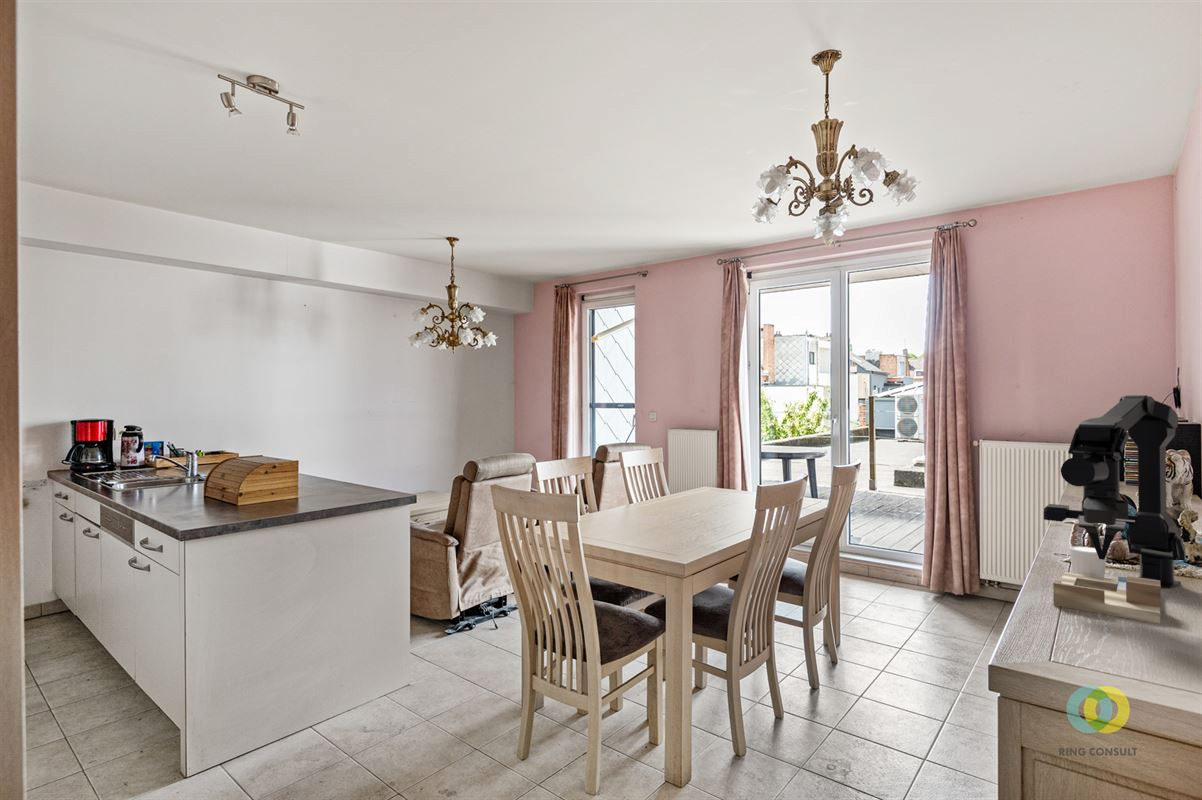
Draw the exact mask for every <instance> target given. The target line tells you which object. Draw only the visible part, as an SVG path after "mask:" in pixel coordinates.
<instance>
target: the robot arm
mask: <svg viewBox="0 0 1202 800" xmlns="http://www.w3.org/2000/svg"><path fill="white" fill-rule="evenodd" d="M1178 425H1179V416H1178V413H1177V412H1176V411H1175V410H1174V409H1173V408H1172V406H1170V405H1168V404H1166V403H1163V402H1160V401H1157V400H1155V399H1154V397H1152V396H1149V395H1145V394H1143V395H1142V394H1139V395H1138V394H1136V395H1133V394H1130V395H1124V396H1121V397H1120V398H1119V401H1118V403H1116V404H1115V405H1114V406H1113V407H1111V408H1110V409H1109V410H1108V411H1107V412H1105V413H1104V415H1102V416H1099V417H1094V418H1093V417H1091V418H1088V419H1085V420H1083V421H1081V422H1080V423H1079V424H1078V426H1077V427H1076V428H1075V431H1074V434H1073V437H1072V440H1071V443H1070V445H1069V448H1068V451H1067V453H1068V454H1069V455H1071V456H1072V457H1070V458H1068V459H1066V460H1065V461H1064V462H1063V464H1062V465H1061V467H1060V474H1061V477H1062V478H1063V480H1064V481H1065V482H1066V483H1067V484H1069V485H1071V486H1075V487H1083V488H1082V489H1083V490H1082V491H1083V497H1082V498H1083V499H1082V501H1081V509H1080V510H1079V509H1070V506H1069V504H1068V505H1067V504H1055V503H1049V504H1047V505H1046V506H1045V507H1044V508H1043V520H1044V521H1052V522H1061V523H1062V522H1063V521H1066V519H1074V520H1077V521H1078V525H1077V526H1078V528H1082V529H1084V530H1085V531H1086V533H1087V535H1088V536H1089V537H1090V539H1091V541H1092V544H1093V548H1095V549H1096V552H1097V554H1098V557H1099V559H1102V560H1104V559H1105V557H1106V554H1107V555H1108V552H1109V549H1110V548H1111V547H1110V546H1111V544H1112V541H1113V540H1114V539H1115V537H1116V536H1117V534H1118V533H1123V532H1126V534H1125V535H1126V541H1127V546H1128V551H1129V552H1128V553H1129V554H1136V555H1139V576H1138V577H1139V578H1146V579H1153V580H1160V584H1161V588H1166V589H1171V588H1174V587H1177V586H1179V585H1182V581H1179V580H1175V562H1178V561H1186V559H1187V557H1186V555H1187V549H1186V546H1185V544H1184V542H1183V540H1182V538H1181V536H1180V534H1179V533H1178V527H1177V523H1176V522H1175V521H1174V520H1173V517H1171V516H1170V514H1169V513H1168V512H1167V472H1166V471H1167V467H1166V464H1167V463H1166V461H1167V460H1166V453H1167V452H1166V448H1167V446H1168V445H1169V443H1170V442H1171V441H1172V440H1173V439H1174V437H1175V436H1176V429H1177V428H1178ZM1129 438H1130V439H1131V440H1132V441H1133V443H1134V444H1135V445H1136V447H1137V482H1138V483H1137V484H1138V485H1137V486H1138V488H1137V490H1138V491H1137V492H1138V493H1137V496H1138V510H1137V512H1136V513H1135V514H1134V515H1133V514H1129V500H1123V499H1122V500H1121V499H1120V498H1121V496H1120V494H1121V493H1120V491H1121V490H1120V489H1121V487H1120V461H1121V460H1122V456H1121V455H1120V454H1122V453H1123V451H1124V449H1125V447H1126V444H1127V442H1128V440H1129ZM1099 524H1102V525H1103V524H1104V525H1106V526H1105V529H1104V530H1105V531H1104V536H1103V543H1102V542H1101V541H1102V540H1101V536H1100V535H1101V534H1100V528H1099ZM1127 525H1128V528H1127V529H1126V527H1127ZM1106 558H1107V557H1106Z"/></svg>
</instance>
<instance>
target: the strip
mask: <svg viewBox="0 0 1202 800" xmlns="http://www.w3.org/2000/svg"><path fill="white" fill-rule="evenodd" d="M1126 578H1127V576H1124V575H1118V578H1117V580H1118V587H1117V588H1122V589H1126Z"/></svg>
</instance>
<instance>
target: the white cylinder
mask: <svg viewBox="0 0 1202 800" xmlns="http://www.w3.org/2000/svg"><path fill="white" fill-rule="evenodd" d="M1069 556H1070V564H1071V573H1074V574H1081V575H1088V576H1095V577H1102V578H1105V575H1106V565H1107V556H1108V553H1107V554H1106V557H1105V559H1104V560H1102V559H1099V557H1098V554H1097V552H1096V549H1095V547H1094V546H1093V547H1092V546H1084V545H1083V546H1081V545H1080V546H1079V545H1078V546H1077V545H1076V546H1074V545H1073V546H1069Z"/></svg>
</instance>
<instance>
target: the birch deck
mask: <svg viewBox="0 0 1202 800" xmlns="http://www.w3.org/2000/svg"><path fill="white" fill-rule="evenodd" d="M1117 587H1118V579H1115V578H1108V577H1104V578H1102V577H1095V576H1088V575H1081V574H1074V573H1072V572H1066V571H1065V572H1063V574H1062V576H1061V578H1060V579H1054V581H1053V587H1052V588H1053V593H1052V594H1053V606H1055V607H1056V606H1057V607H1062V608H1067V609H1073V610H1079V611H1084V612H1085V611H1086V612H1090V613H1091V612H1092V613H1096V614H1101V615H1107V616H1108V615H1109V616H1113V617H1119V618H1126V619H1129V620H1130V619H1132V620H1136V621H1143V622H1148V623H1153V624H1158V625H1160V624H1161V607H1156V606H1149V605H1143V604H1137V603H1131V602H1126V589H1122V588H1117Z"/></svg>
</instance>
